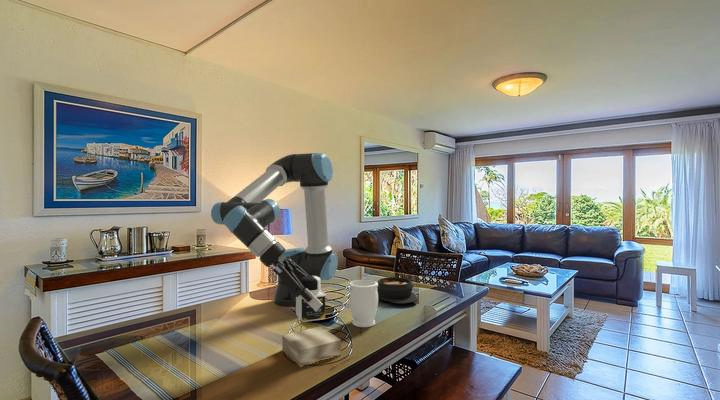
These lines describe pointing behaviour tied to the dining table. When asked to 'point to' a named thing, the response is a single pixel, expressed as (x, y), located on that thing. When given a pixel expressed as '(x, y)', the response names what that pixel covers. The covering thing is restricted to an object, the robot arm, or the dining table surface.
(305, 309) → the medicine bottle
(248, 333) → the dining table surface
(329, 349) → the birch block
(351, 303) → the jar
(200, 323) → the dining table surface
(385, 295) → the casserole
